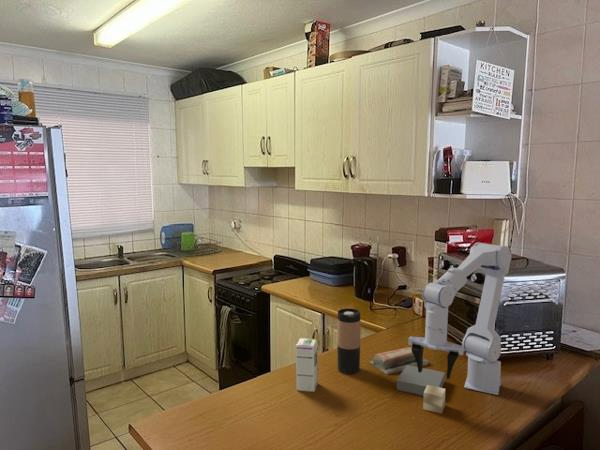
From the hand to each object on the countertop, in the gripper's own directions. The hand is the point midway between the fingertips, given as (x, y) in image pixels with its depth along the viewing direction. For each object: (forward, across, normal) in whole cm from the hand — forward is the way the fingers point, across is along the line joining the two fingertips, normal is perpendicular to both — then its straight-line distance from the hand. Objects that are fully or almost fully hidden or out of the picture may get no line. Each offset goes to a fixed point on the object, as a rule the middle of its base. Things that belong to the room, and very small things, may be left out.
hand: (434, 374), depth 120 cm
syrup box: (+10, -36, -7) cm, 38 cm away
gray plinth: (+9, -6, +11) cm, 16 cm away
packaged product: (+10, -16, +23) cm, 30 cm away
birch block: (+10, 0, 0) cm, 10 cm away
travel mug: (+10, -30, +10) cm, 33 cm away
